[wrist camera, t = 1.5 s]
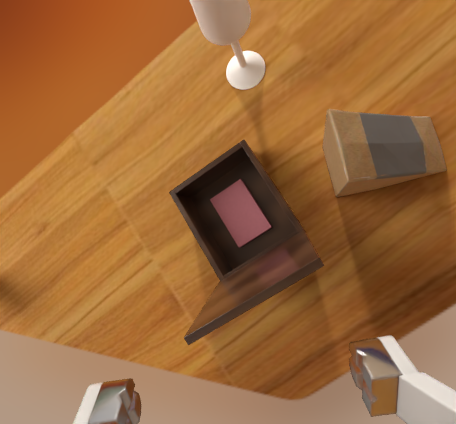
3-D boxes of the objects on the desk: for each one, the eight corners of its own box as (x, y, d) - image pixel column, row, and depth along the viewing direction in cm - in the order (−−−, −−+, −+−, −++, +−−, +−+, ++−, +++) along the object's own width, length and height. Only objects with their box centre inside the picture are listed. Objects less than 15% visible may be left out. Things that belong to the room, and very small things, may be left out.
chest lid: (183, 337, 27) (188, 345, 27) (318, 257, 25) (324, 265, 25) (219, 281, 43) (222, 286, 43) (303, 229, 41) (306, 234, 41)
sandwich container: (448, 172, 44) (517, 141, 29) (336, 199, 47) (347, 184, 33) (430, 114, 45) (487, 57, 30) (321, 145, 48) (326, 107, 34)
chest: (186, 197, 53) (168, 192, 47) (252, 151, 51) (243, 139, 44) (233, 277, 50) (221, 283, 44) (306, 232, 48) (305, 232, 41)
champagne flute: (272, 74, 51) (241, -59, 28) (237, 97, 52) (179, -11, 29) (253, 42, 52) (207, -110, 29) (219, 66, 54) (149, -62, 30)
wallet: (212, 200, 51) (209, 199, 50) (242, 180, 50) (240, 178, 49) (241, 247, 50) (238, 247, 48) (272, 227, 49) (271, 227, 47)
